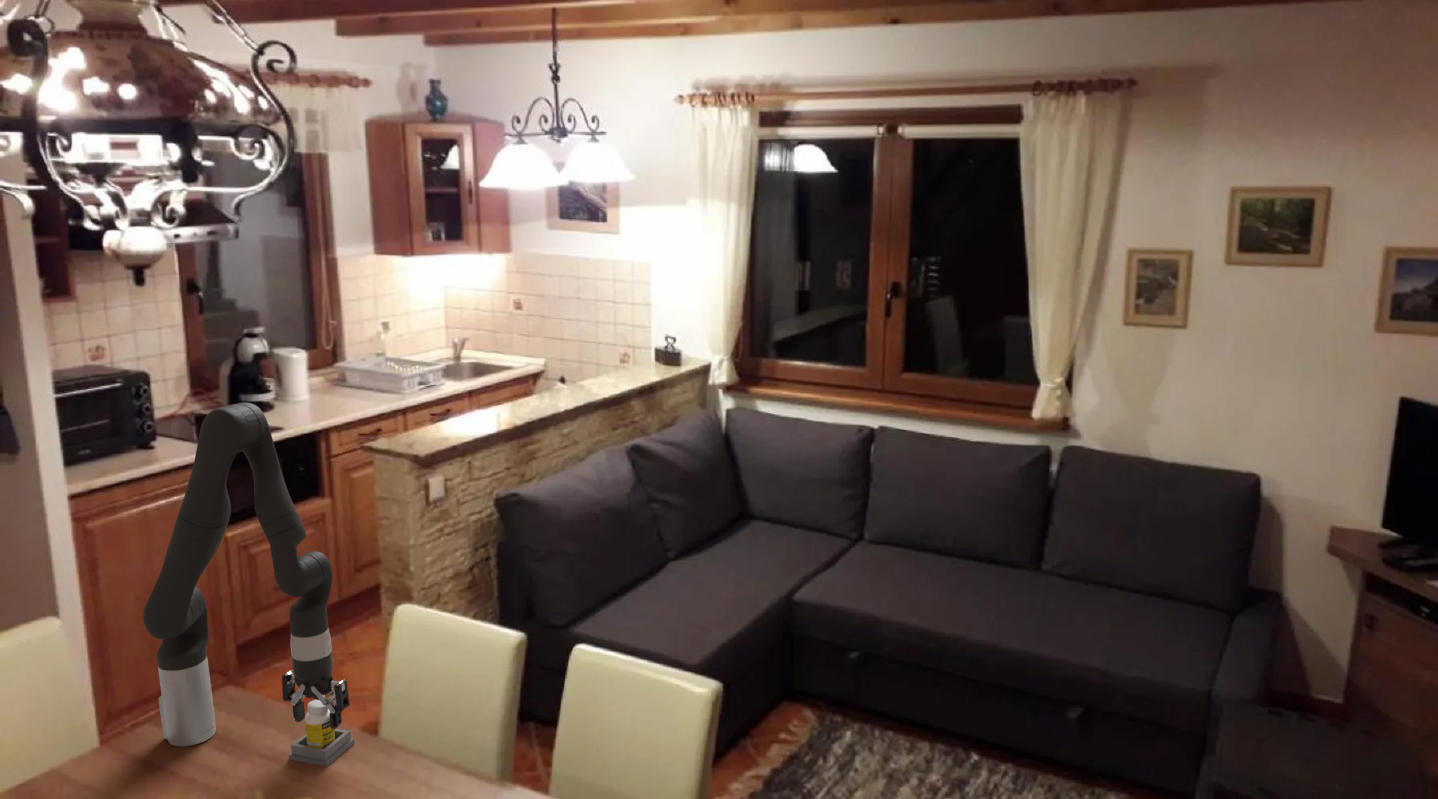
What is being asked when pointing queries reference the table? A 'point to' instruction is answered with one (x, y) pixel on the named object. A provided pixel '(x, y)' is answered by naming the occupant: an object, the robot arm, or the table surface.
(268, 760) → the table surface
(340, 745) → the square open box
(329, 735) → the supplement bottle
